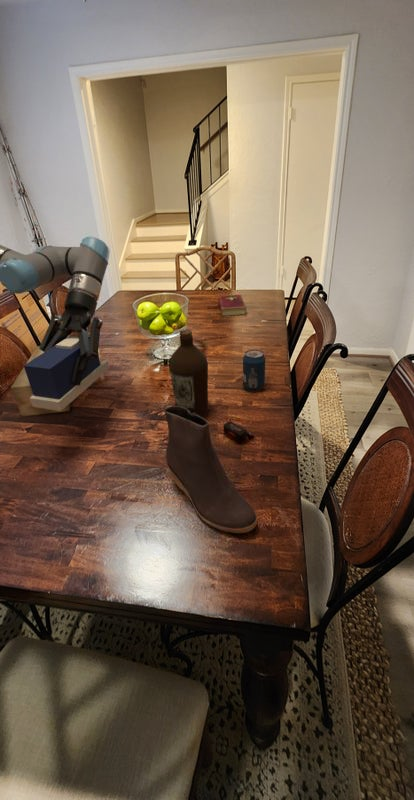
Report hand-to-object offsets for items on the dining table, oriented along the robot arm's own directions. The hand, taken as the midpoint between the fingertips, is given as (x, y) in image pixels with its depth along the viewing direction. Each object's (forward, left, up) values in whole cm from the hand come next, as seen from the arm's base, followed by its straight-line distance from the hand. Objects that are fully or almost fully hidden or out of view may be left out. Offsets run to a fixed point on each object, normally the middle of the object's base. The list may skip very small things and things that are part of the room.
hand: (60, 381), depth 90 cm
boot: (+32, -28, -18) cm, 46 cm away
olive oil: (+32, +8, -18) cm, 38 cm away
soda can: (+53, +18, -18) cm, 59 cm away
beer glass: (+1, +34, -18) cm, 39 cm away
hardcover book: (+61, +97, -18) cm, 116 cm away
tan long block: (-12, +31, -18) cm, 38 cm away
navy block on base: (+2, +4, -4) cm, 6 cm away
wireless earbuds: (+43, -7, -18) cm, 47 cm away
